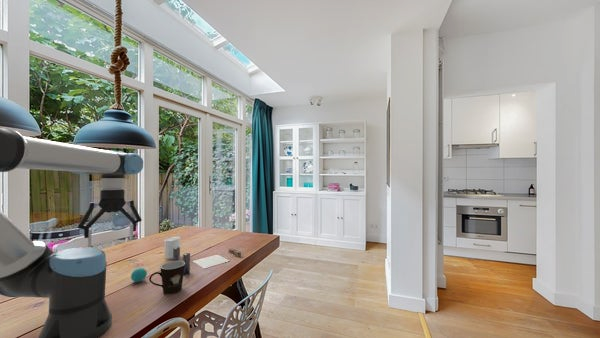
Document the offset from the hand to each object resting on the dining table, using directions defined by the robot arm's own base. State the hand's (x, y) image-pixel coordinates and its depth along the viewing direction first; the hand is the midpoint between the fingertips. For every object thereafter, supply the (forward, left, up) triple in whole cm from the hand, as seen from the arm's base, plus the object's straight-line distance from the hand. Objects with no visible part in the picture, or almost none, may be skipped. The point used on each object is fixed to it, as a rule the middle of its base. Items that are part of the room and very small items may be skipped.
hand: (111, 242), depth 92 cm
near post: (-7, -27, -18) cm, 33 cm away
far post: (+6, -27, -18) cm, 33 cm away
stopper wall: (0, -56, -18) cm, 59 cm away
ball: (0, -10, -16) cm, 18 cm away
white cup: (+22, -30, -19) cm, 41 cm away
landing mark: (0, -42, -18) cm, 46 cm away
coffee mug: (-18, -16, -19) cm, 30 cm away
